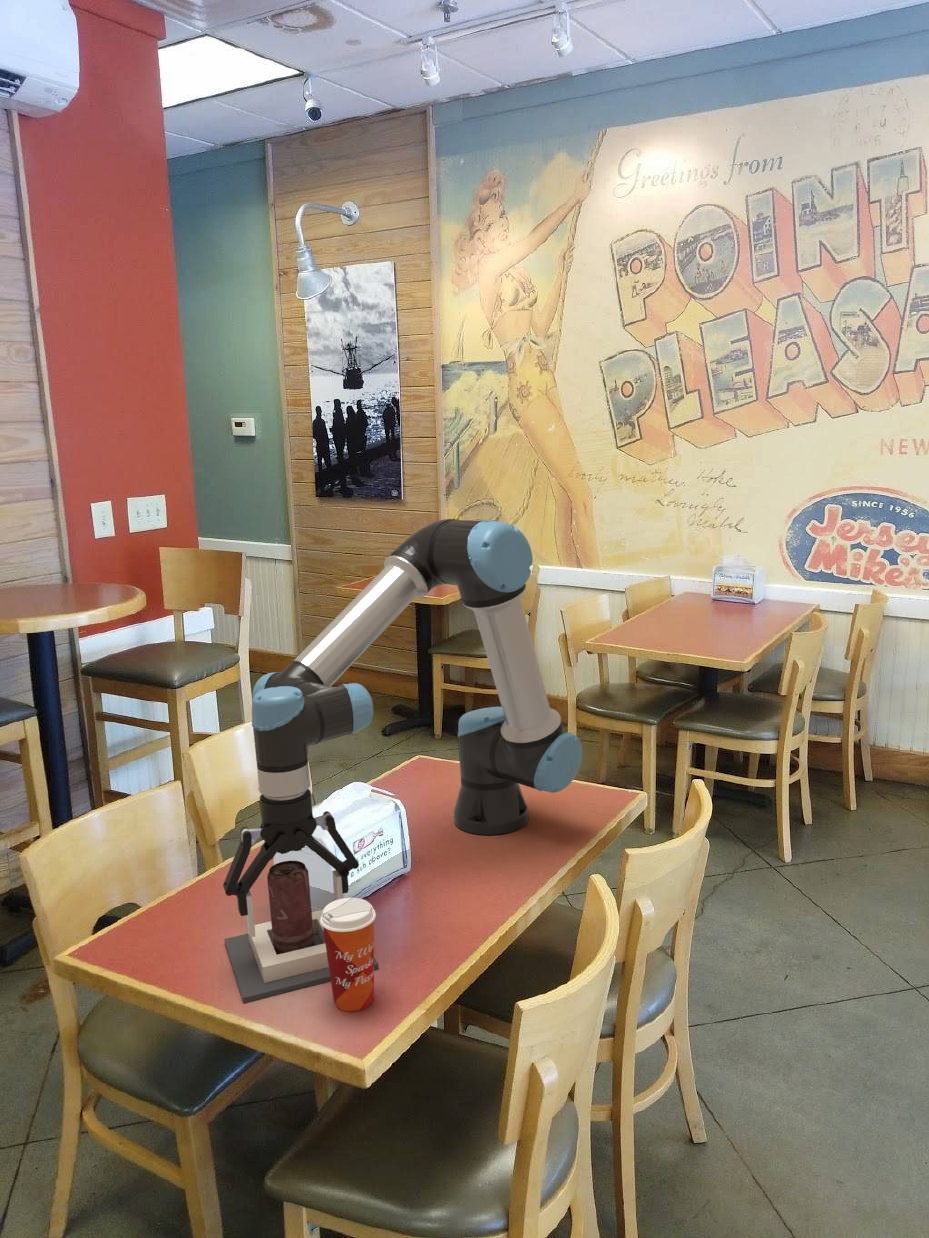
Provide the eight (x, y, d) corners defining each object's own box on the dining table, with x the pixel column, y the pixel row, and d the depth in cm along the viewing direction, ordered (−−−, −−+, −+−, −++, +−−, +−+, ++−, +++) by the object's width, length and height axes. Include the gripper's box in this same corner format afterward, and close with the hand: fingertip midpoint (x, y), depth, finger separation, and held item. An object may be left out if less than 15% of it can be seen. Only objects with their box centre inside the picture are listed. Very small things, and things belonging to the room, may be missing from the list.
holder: (329, 922, 157) (328, 908, 156) (350, 961, 145) (349, 946, 145) (249, 941, 152) (247, 926, 152) (264, 982, 140) (262, 967, 140)
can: (307, 964, 145) (300, 878, 142) (268, 961, 146) (260, 875, 143) (322, 943, 151) (315, 859, 148) (283, 940, 152) (276, 857, 149)
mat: (346, 915, 161) (346, 910, 161) (378, 968, 144) (378, 963, 144) (224, 943, 154) (224, 938, 153) (243, 1003, 137) (242, 998, 137)
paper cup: (343, 1023, 131) (336, 928, 129) (317, 998, 137) (309, 907, 135) (392, 1001, 136) (386, 909, 133) (364, 978, 142) (358, 890, 139)
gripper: (359, 769, 152) (367, 894, 156) (195, 798, 143) (209, 930, 147) (372, 784, 145) (381, 915, 149) (202, 815, 136) (216, 953, 140)
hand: (296, 922), depth 148 cm, fingers open, 13 cm apart
